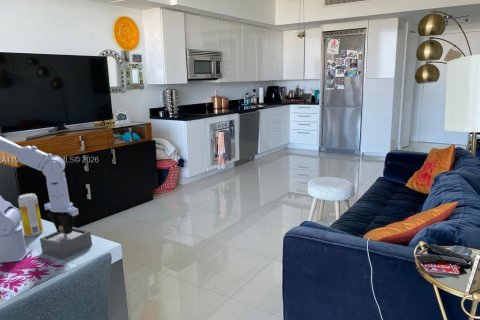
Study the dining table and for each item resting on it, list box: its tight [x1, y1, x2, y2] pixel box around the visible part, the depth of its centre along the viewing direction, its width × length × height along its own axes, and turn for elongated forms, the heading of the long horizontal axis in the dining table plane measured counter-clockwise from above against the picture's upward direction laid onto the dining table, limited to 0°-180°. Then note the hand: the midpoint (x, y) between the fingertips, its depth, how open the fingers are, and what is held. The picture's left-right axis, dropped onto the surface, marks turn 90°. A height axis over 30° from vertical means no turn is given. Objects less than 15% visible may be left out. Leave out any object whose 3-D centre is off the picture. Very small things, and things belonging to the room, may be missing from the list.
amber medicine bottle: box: [17, 192, 44, 237], centre depth 135 cm, size 6×6×15 cm
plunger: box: [48, 224, 82, 243], centre depth 122 cm, size 8×8×5 cm
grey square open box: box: [39, 226, 93, 260], centre depth 123 cm, size 11×11×5 cm
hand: (65, 232), depth 122 cm, fingers closed on plunger, 3 cm apart
